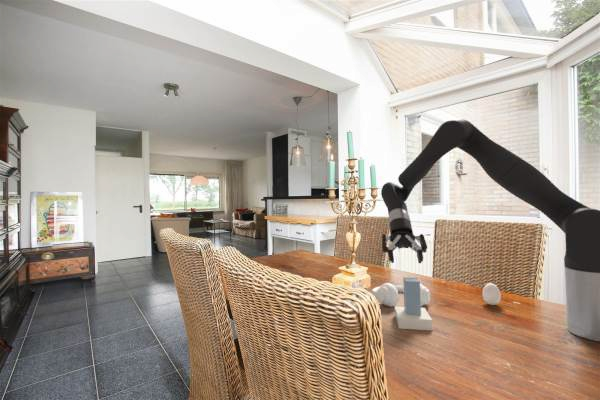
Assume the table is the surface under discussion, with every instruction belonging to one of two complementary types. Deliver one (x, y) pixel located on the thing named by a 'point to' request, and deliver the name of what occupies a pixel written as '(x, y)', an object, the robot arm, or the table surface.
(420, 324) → the base
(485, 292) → the egg
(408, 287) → the pillar
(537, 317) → the table surface
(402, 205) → the robot arm
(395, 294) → the headphones
